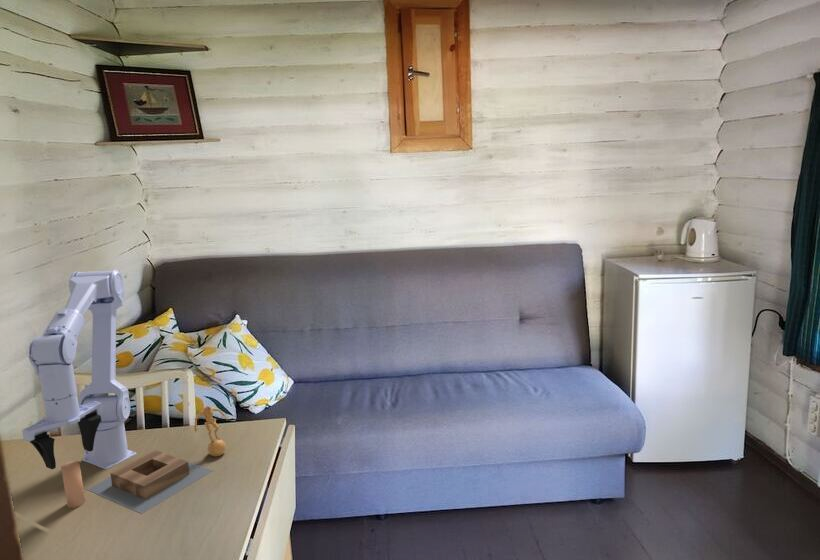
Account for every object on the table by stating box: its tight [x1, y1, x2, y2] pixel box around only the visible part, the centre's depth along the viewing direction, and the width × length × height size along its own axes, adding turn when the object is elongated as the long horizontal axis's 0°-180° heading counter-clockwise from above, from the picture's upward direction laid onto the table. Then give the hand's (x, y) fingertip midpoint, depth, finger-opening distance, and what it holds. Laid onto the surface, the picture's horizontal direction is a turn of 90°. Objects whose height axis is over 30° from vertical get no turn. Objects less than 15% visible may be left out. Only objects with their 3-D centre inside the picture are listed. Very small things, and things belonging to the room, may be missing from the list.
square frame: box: [109, 449, 189, 500], centre depth 128 cm, size 11×11×3 cm
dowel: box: [60, 460, 86, 509], centre depth 120 cm, size 3×3×9 cm
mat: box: [86, 461, 214, 515], centre depth 129 cm, size 18×18×1 cm
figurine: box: [194, 405, 228, 458], centre depth 139 cm, size 8×6×12 cm
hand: (70, 458), depth 119 cm, fingers open, 7 cm apart
